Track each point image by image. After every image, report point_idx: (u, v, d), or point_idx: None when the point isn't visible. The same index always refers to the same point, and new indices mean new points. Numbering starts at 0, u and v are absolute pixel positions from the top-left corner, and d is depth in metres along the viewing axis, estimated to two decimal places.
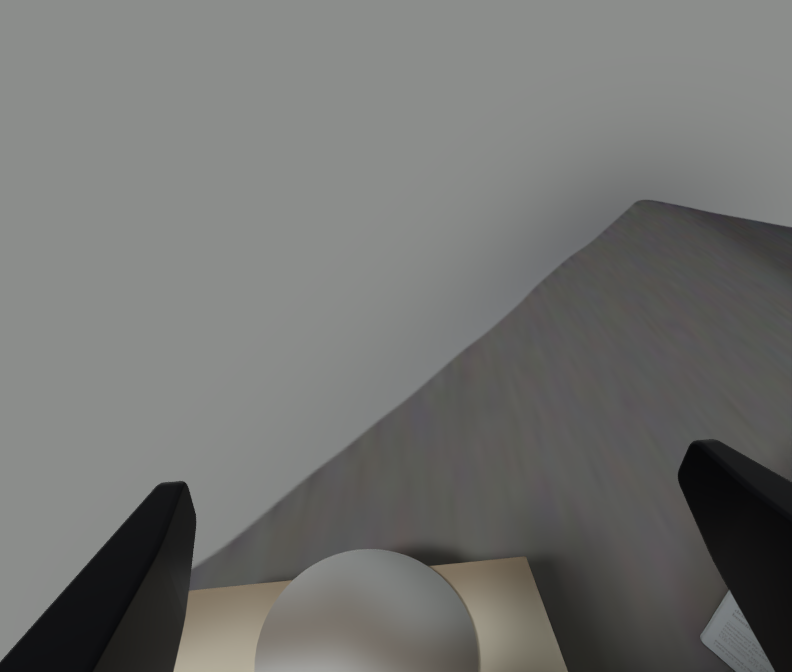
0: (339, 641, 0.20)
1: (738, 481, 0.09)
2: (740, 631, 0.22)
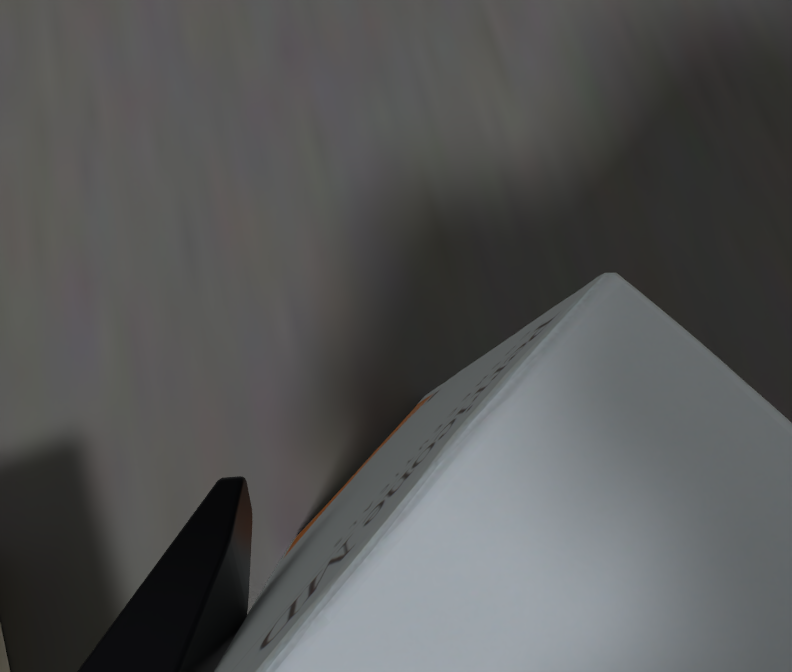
0: None
1: None
2: None
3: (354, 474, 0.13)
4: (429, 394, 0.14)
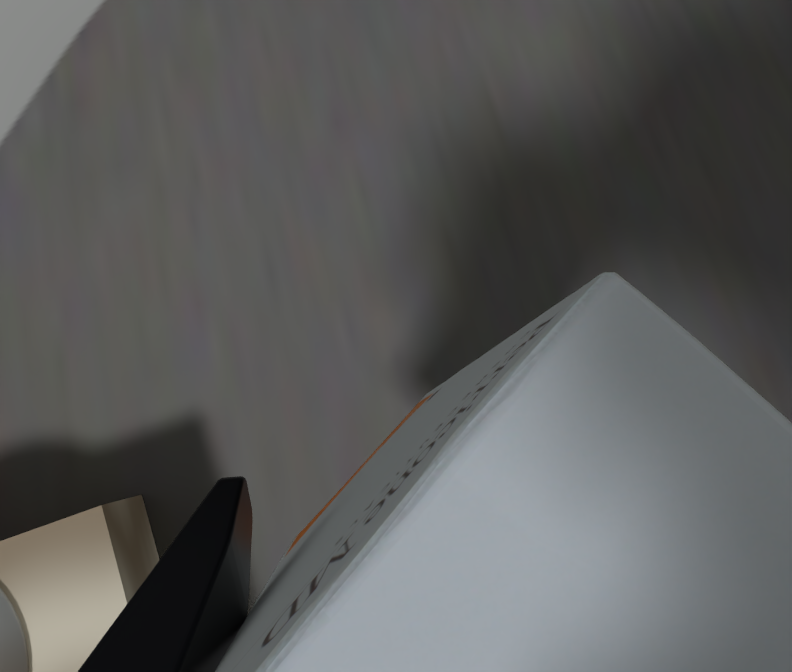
0: None
1: None
2: None
3: None
4: (430, 393, 0.14)
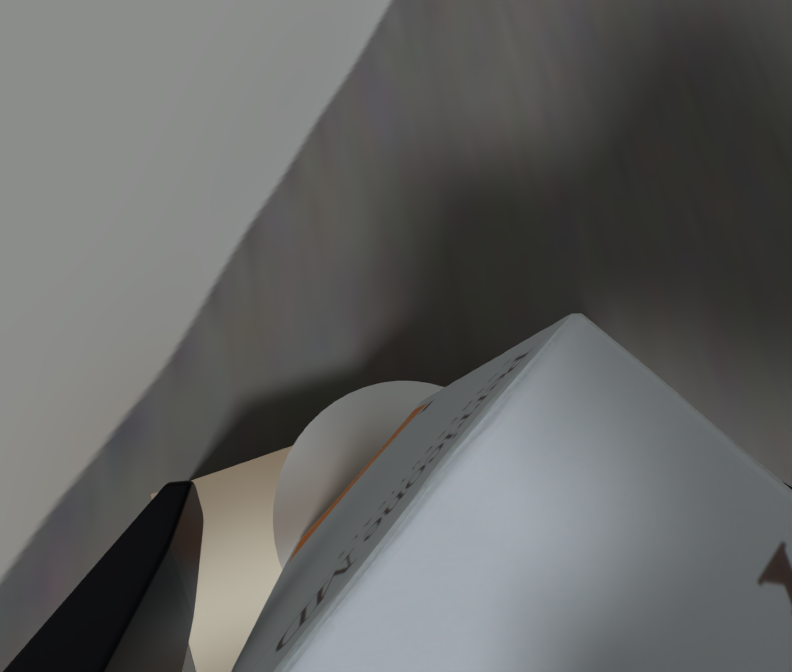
0: None
1: None
2: None
3: (354, 480, 0.14)
4: (424, 402, 0.15)
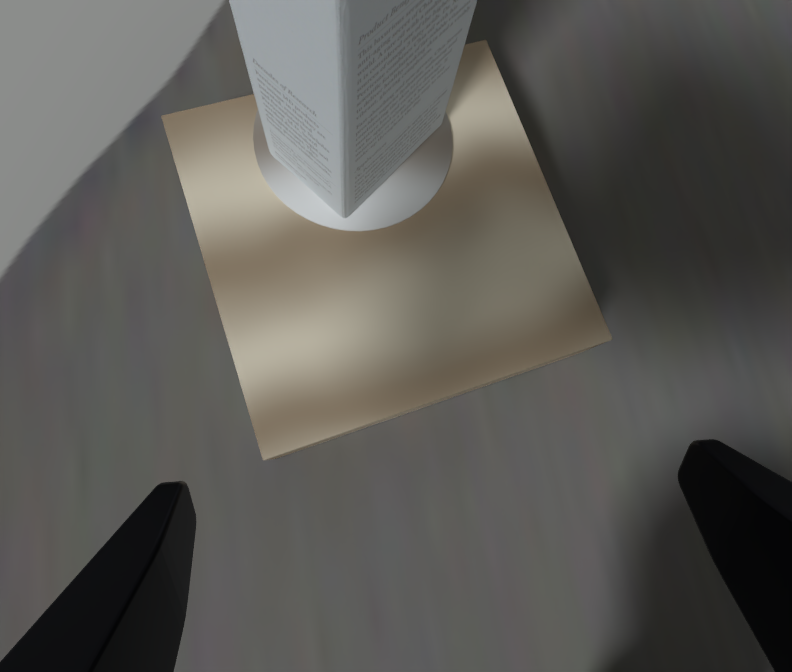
0: None
1: (738, 481, 0.09)
2: (279, 137, 0.19)
3: None
4: None
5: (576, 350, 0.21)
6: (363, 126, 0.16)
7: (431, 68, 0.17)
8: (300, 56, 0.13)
